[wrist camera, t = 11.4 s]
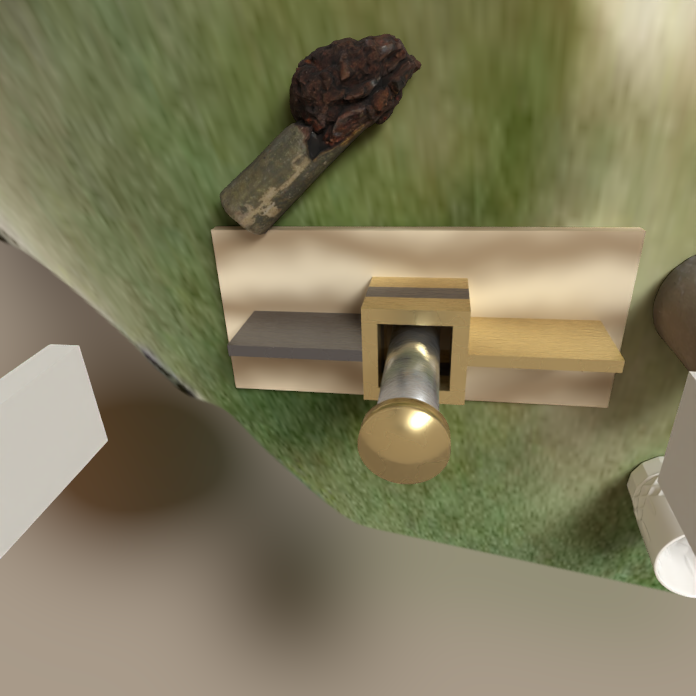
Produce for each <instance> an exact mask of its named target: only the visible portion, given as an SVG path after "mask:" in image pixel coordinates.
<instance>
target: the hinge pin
mask: <svg viewBox="0 0 696 696" xmlns="http://www.w3.org/2000/svg"><path fill="white" fill-rule="evenodd" d="M439 369H440V326H428V325H397V324H393V327H392V332H391V337H390V342H389V347H388V352H387V357H386V362H385V367H384V372H383V377H382V382H381V387H380V392H379V397H378V402H377V405H375V406H374V407H372V408H371V409H370V410H369V411H368V413H367V414H366V415H365V417H364V419H363V421H362V424H361V428H360V432H359V437H358V451H359V455H360V457H361V459H362V461H363V462H364V464H365V465H366V466H367V468H369V469H370V470H371V471H372V472H373V473H374V474H376V475H377V476H379V477H381V478H383V479H385V480H387V481H390V482H394V483H399V484H416V483H421V482H424V481H427V480H429V479H431V478H433V477H435V476H436V475H438V474H439V473H440V472H441V471H442V470H443V469H444V468H445V466H446V465H447V463H448V461H449V458H450V453H451V440H450V429H449V426H448V423H447V422H446V420H445V418H444V417H443V415H442V414H441V413H440V412H439Z"/></svg>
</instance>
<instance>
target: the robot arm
mask: <svg viewBox="0 0 696 696" xmlns="http://www.w3.org/2000/svg"><path fill="white" fill-rule="evenodd" d="M107 441H108V439H107V436H106V433H105V429H104V426H103V423H102V420H101V416H100V413H99V410H98V407H97V403H96V400H95V397H94V393H93V390H92V387H91V383H90V380H89V377H88V373H87V370H86V367H85V364H84V360H83V357H82V354H81V350H80V347H79V346H78V345H55V344H50V345H48V346H47V347H45V348H44V349H42V350H41V351H39V352H38V353H37V354H35V355H34V356H32V357H31V358H29V359H28V360H27V361H25V362H24V363H22V364H21V365H19V366H18V367H16V368H15V369H14V370H12V371H11V372H9V373H8V374H6V375H5V376H4V377H2V378H1V379H0V559H1V557H2V556H3V555H4V554H5V553H6V552H7V551H8V550H9V549H10V547H11V546H12V545H13V544H14V543H15V542H16V541H17V540H18V539H19V538H20V537H21V535H22V534H23V533H24V532H25V531H26V530H27V529H28V528H29V527H30V526H31V525H32V523H33V522H34V521H35V520H36V519H37V518H38V517H39V516H40V515H41V514H42V512H43V511H44V510H45V509H46V508H47V507H48V506H49V505H50V504H51V502H53V500H54V499H55V498H56V497H57V496H58V495H59V494H60V493H61V492H62V490H63V489H64V488H65V487H66V486H67V485H68V484H69V483H70V482H71V481H72V479H73V478H74V477H75V476H76V475H77V474H78V473H79V472H80V471H81V469H83V467H84V466H85V465H86V464H87V463H88V462H89V461H90V460H91V459H92V458H93V456H94V455H95V454H96V453H97V452H98V451H99V450H100V449H101V448H102V446H104V444H105V443H106V442H107ZM657 482H658V484H659V486H660V488H661V489H662V491H663V493H664V495H665V497H666V499H667V501H668V503H669V505H670V507H671V509H672V511H673V513H674V515H675V517H676V519H677V521H678V523H679V525H680V527H681V529H682V531H683V533H684V535H685V537H686V539H687V541H688V543H689V545H690V547H691V549H692V551H693V553H694V555H695V557H696V372H692V371H689V373H688V376H687V380H686V383H685V387H684V390H683V394H682V397H681V401H680V404H679V408H678V411H677V415H676V418H675V421H674V425H673V428H672V432H671V435H670V439H669V442H668V446H667V449H666V453H665V456H664V460H663V463H662V467H661V470H660V473H659V477H658V480H657Z"/></svg>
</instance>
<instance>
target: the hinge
mask: <svg viewBox="0 0 696 696" xmlns="http://www.w3.org/2000/svg"><path fill="white" fill-rule="evenodd" d="M387 324H397V325H428V326H451V328H450V347H449V350H440V369H439V404H454V405H464V403H465V389H466V375H467V366H472V367H495V368H518V369H540V370H563V371H586V372H609V373H622V372H623V368H624V363H625V360H624V358H623V357H622V355H621V353H620V352H619V350H618V349H617V347H616V345H615V344H614V342H613V340H612V339H611V337H610V335H609V334H608V332H607V330H606V329H605V327H604V325H603V324H602V322H601V321H598V320H563V319H529V318H494V317H471V307H470V297H469V286H468V278H425V277H372V279H371V282H370V285H369V287H368V290H367V293H366V296H365V299H364V301H363V304H362V307H361V314H356V313H321V312H286V311H254V312H253V313H252V314H251V316H250V317H249V318H248V319H247V321H246V322H245V323H244V325H243V326H242V327H241V328H240V330H239V331H238V332H237V333H236V335H235V336H234V337H233V338H232V340H231V341H230V342H229V343H228V345H227V347H228V353H229V356H243V357H266V358H288V359H311V360H334V361H357V362H363V391H364V400H378V397H379V392H380V387H381V382H382V377H383V372H384V367H385V362H386V357H387V352H388V348H387Z"/></svg>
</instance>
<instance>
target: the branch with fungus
mask: <svg viewBox="0 0 696 696" xmlns="http://www.w3.org/2000/svg"><path fill="white" fill-rule="evenodd" d="M420 67H421V63H420V62H419V61H417V60H416V58H415V57H414V56H412V55H409V54H408V53H407V51H406V49H405V47H404V45H403V43H402V42H401V40H400V39H399V38H395V36H392V35H390V34H383V35H380V36H369V37H366V38H363V39H361V40H360V41H356V40H354V39H352V38H344V39H341V40H336V41H333V42H332V43H331V44H330V45H328V46H324V47H319V48H317V49H316V50H315V51H313V52H312V53H311V54H310V55H309V56H307V57H305V59H304V60H302V61H300V63H299V64H298V68H296V73H295V74H294V75H293V78H292V84H291V86H290V108H291V112H292V115H293V117H294V119H295V120H296V121H297V122H296V123H292V124H291V125H289V126H287V127H286V128H285V129H284V130H283V131H282V132H281V133H280V134H279V135H278V136H277V137H276V138H275V139H274V140H273V141H272V142H271V143H270V144H269V145H268V146H267V147H266V149H265V150H264V151H263V152H262V153H261V154H260V155H259V156H258V157H257V158H256V159H255V160H254V161H253V162H252V163H251V164H250V165H249V166H248V167H247V168H246V169H244V170H243V171H242V172H241V173H240V174H239V175H238V176H237V177H236V178H235V179H234V180H233V181H232V182H231V183H230V184H229V185H228V186H227V187H226V188H225V189H224V190H223V191H222V192H221V193H220V199H221V203H222V206H223V208H224V210H225V211H226V213H227V214H228V215H229V216H230V217H231V218H232V219H234V220H235V221H236V222H238V223H239V224H240V225H241V226H242V227H243V228H245V229H246V230H248V231H249V232H251V233H253V234H257V235H261V234H266V233H267V231H268V230H269V229H270V228H271V227H272V225H273V224H274V223H275V222H276V221H277V220H278V219H279V218H280V217H281V216H282V215H283V214H284V213H285V212H286V210H287V209H288V208H289V207H290V206H291V205H292V204H293V203H294V202H295V201H296V200H297V199H298V198H299V197H300V195H301V194H302V193H303V192H304V191H305V190H306V189H307V188H308V187H309V186H310V185H311V184H312V183H313V182H314V181H315V179H316V178H317V177H318V176H319V175H320V174H321V173H322V172H323V171H324V170H325V169H326V168H327V167H328V166H329V165H330V164H331V163H332V162H333V161H334V160H335V159H336V158H337V157H338V156H339V155H340V154H341V153H342V152H343V151H344V150H345V149H346V148H347V147H348V146H349V145H350V144H351V143H352V142H353V141H354V140H355V139H356V138H357V137H358V136H359V135H360V134H361V133H362V132H363V131H364V130H365V129H366V128H368V127H370V126H371V125H373V124H374V123H376V124H382V123H384V122H385V121H386V120H387V119H388V118H389V117H390V116H391V114H392V113H393V109H394V107H395V106H396V105H397V104H398V103H399V101H400V99H401V98H402V89H403V87H404V86H405V85H406V82H407V81H408V80H409V79H410V78H411V77H412V74H413V73H415V72H416V71H417V70H419V69H420Z"/></svg>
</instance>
